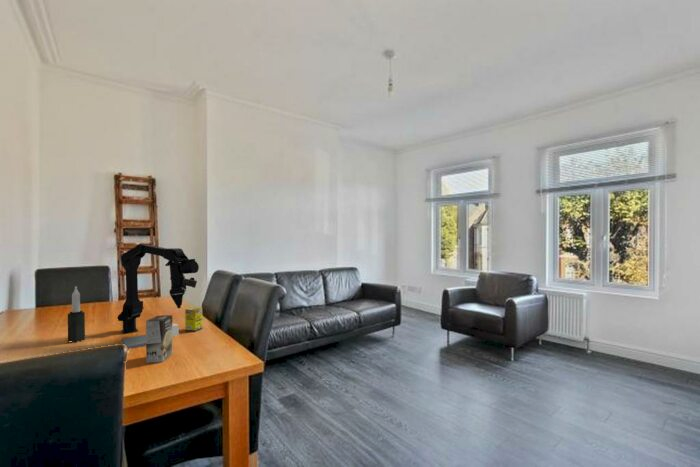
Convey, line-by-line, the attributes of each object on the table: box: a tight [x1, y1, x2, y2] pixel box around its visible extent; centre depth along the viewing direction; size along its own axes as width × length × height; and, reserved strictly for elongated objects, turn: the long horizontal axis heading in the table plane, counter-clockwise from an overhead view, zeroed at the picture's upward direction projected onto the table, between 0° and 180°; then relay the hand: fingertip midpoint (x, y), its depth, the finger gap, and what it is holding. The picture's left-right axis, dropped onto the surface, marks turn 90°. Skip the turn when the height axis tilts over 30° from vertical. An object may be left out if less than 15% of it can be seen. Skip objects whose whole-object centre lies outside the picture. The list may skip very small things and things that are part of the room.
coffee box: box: [145, 314, 174, 364], centre depth 139 cm, size 9×6×16 cm
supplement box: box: [184, 306, 203, 333], centre depth 178 cm, size 6×6×11 cm
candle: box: [67, 286, 86, 343], centre depth 161 cm, size 5×5×25 cm
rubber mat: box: [120, 334, 146, 350], centre depth 159 cm, size 14×14×1 cm
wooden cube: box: [172, 322, 180, 338], centre depth 169 cm, size 5×5×5 cm
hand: (179, 306), depth 169 cm, fingers open, 9 cm apart
